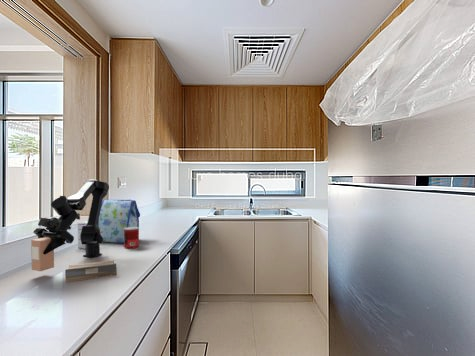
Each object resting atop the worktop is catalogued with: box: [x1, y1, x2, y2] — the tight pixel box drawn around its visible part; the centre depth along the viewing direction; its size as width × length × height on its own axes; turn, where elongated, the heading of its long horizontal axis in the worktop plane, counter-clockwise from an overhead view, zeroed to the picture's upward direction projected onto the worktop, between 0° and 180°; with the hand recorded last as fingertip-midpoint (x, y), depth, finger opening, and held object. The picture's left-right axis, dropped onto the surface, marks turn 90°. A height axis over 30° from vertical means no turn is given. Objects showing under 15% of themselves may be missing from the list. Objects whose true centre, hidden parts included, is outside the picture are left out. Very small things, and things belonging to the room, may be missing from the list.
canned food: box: [123, 226, 140, 249], centre depth 168 cm, size 8×8×11 cm
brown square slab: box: [64, 259, 117, 283], centre depth 123 cm, size 18×18×4 cm
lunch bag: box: [98, 199, 141, 244], centre depth 185 cm, size 22×17×26 cm
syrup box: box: [76, 220, 88, 249], centre depth 169 cm, size 6×6×14 cm
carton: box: [30, 237, 55, 272], centre depth 119 cm, size 6×6×12 cm
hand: (39, 253), depth 118 cm, fingers closed on carton, 5 cm apart
